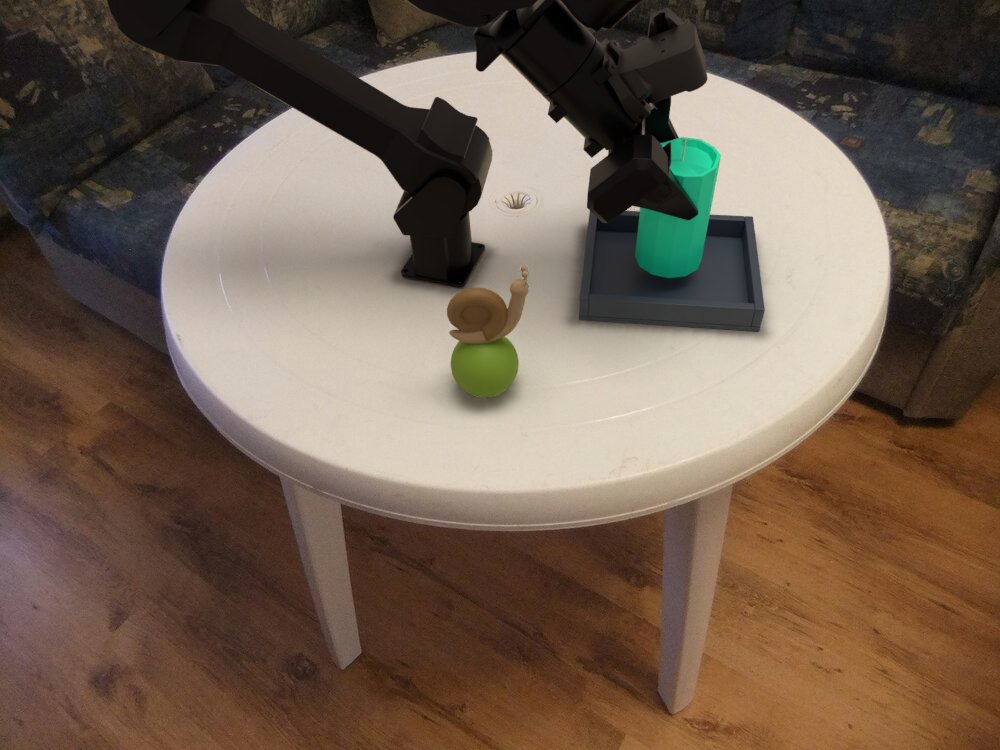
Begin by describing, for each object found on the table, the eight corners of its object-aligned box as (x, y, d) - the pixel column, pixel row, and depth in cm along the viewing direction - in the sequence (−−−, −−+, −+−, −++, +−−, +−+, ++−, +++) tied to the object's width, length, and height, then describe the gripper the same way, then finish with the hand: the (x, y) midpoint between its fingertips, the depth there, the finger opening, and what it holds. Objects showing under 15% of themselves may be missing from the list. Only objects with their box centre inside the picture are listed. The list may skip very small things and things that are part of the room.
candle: (700, 239, 74) (721, 121, 66) (702, 280, 70) (726, 159, 62) (635, 236, 75) (648, 118, 66) (634, 276, 71) (648, 156, 62)
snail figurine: (534, 407, 64) (532, 292, 55) (455, 414, 64) (440, 300, 55) (527, 359, 67) (524, 245, 59) (452, 366, 67) (438, 252, 59)
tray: (578, 320, 71) (579, 298, 69) (588, 229, 80) (589, 208, 78) (759, 331, 69) (765, 309, 67) (748, 237, 78) (753, 216, 76)
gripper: (648, 49, 50) (789, 207, 57) (652, -55, 63) (767, 84, 69) (525, 154, 57) (664, 285, 63) (551, 41, 69) (664, 160, 76)
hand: (693, 197), depth 68 cm, fingers closed on candle, 5 cm apart
